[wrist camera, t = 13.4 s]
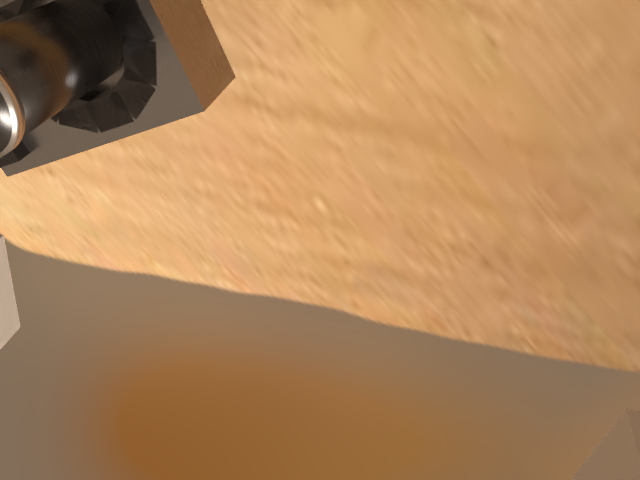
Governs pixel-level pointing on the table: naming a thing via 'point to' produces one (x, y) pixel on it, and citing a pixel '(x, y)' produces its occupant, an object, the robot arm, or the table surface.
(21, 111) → the lens
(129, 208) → the table surface
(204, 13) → the grey block with hole
